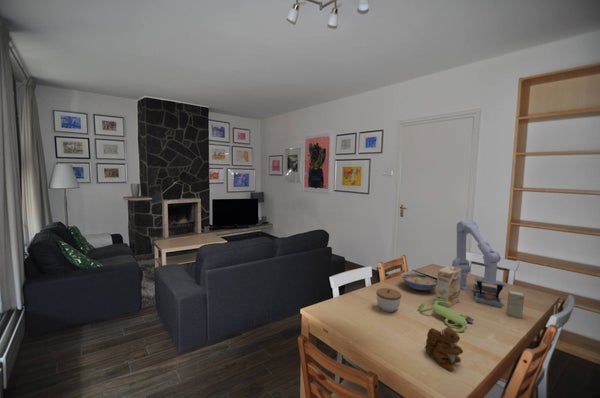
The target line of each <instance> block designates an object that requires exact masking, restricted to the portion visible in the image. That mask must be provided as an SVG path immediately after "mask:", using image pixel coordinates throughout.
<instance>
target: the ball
mask: <svg viewBox="0 0 600 398" xmlns="http://www.w3.org/2000/svg"><path fill="white" fill-rule="evenodd" d="M493 294H494V293H493ZM493 294H491V293H489V292H486V293H484V295H483V297H484V299H485V300H489V301H492V300H493V299H494V296H493Z"/></svg>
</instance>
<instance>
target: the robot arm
mask: <svg viewBox="0 0 600 398" xmlns="http://www.w3.org/2000/svg"><path fill="white" fill-rule="evenodd" d="M469 234H470V235H471V236H472V237H473V238H474V240H475V241H476V242H477V248H478V249H479V251H480V252H481V253H482V255H483V256H482V259H483V263H484V275H483V278H482V277H474V282H475V283H476V284H477V285H478V287H479V290H480V295H482V292H483V291H482V285H483V284H487V285H493V286H496V288H497V292H496V298H498V295H499V296H500V293H501V292H502V290H503V289H504V288H506V282H503V281H498V280H497V275H498V274H497V272H498V263H500V261H501V255H500V253H499V252H498V251H495V250H494V249H493V248H492V246H491V245H490V243H489V242H488V241H486V240H484V238H483V236H482V235H481V233H480V231H479V225H478V224H477V222H476V221H474V220H466V221H465V220H463V221H462V220H459V221H458V222H457V223H456V257H455V258H454V259H453V261H452V263H451V266H453V267H457V268H461V281H460V290H461V289H463V290H467V278H468V277H467V275H468V274H469V273H470V271H471V266H470V261H469V260H468V259H467V235H469ZM479 290H478V291H479Z"/></svg>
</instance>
